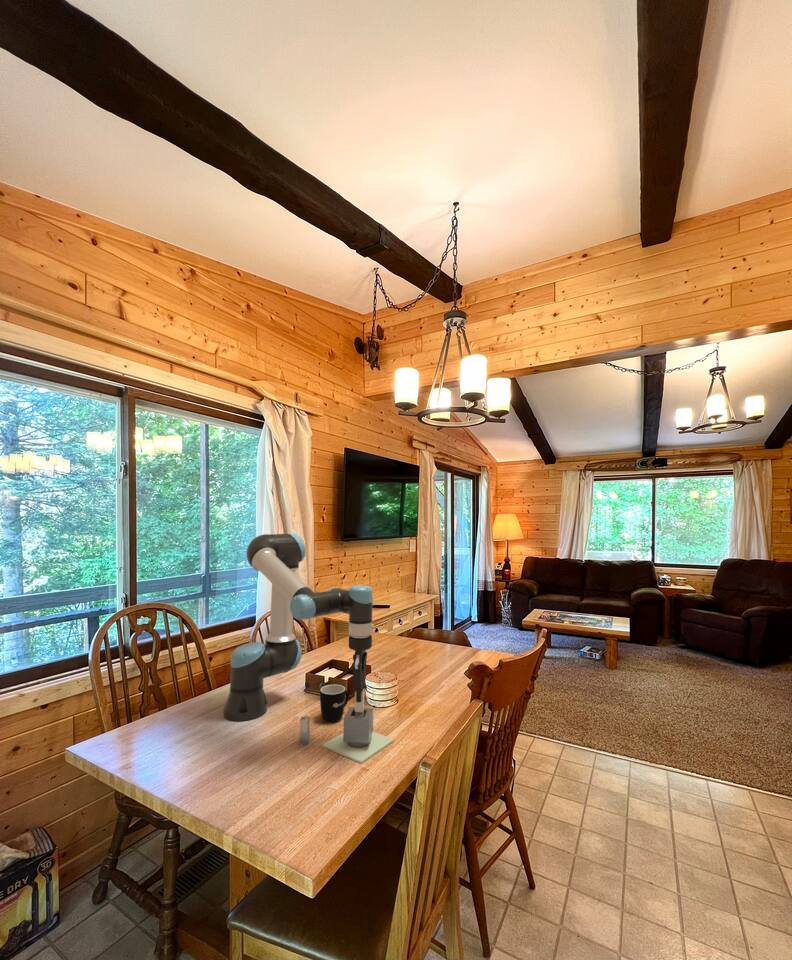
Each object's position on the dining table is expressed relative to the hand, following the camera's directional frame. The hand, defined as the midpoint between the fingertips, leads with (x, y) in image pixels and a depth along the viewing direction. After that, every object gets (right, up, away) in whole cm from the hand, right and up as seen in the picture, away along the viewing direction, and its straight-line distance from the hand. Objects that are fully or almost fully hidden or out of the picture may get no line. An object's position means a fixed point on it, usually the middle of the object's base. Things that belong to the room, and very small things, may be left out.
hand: (359, 710), depth 138 cm
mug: (-10, -12, +17) cm, 23 cm away
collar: (0, -8, -1) cm, 8 cm away
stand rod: (-17, -10, -1) cm, 20 cm away
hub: (0, -10, -1) cm, 10 cm away
